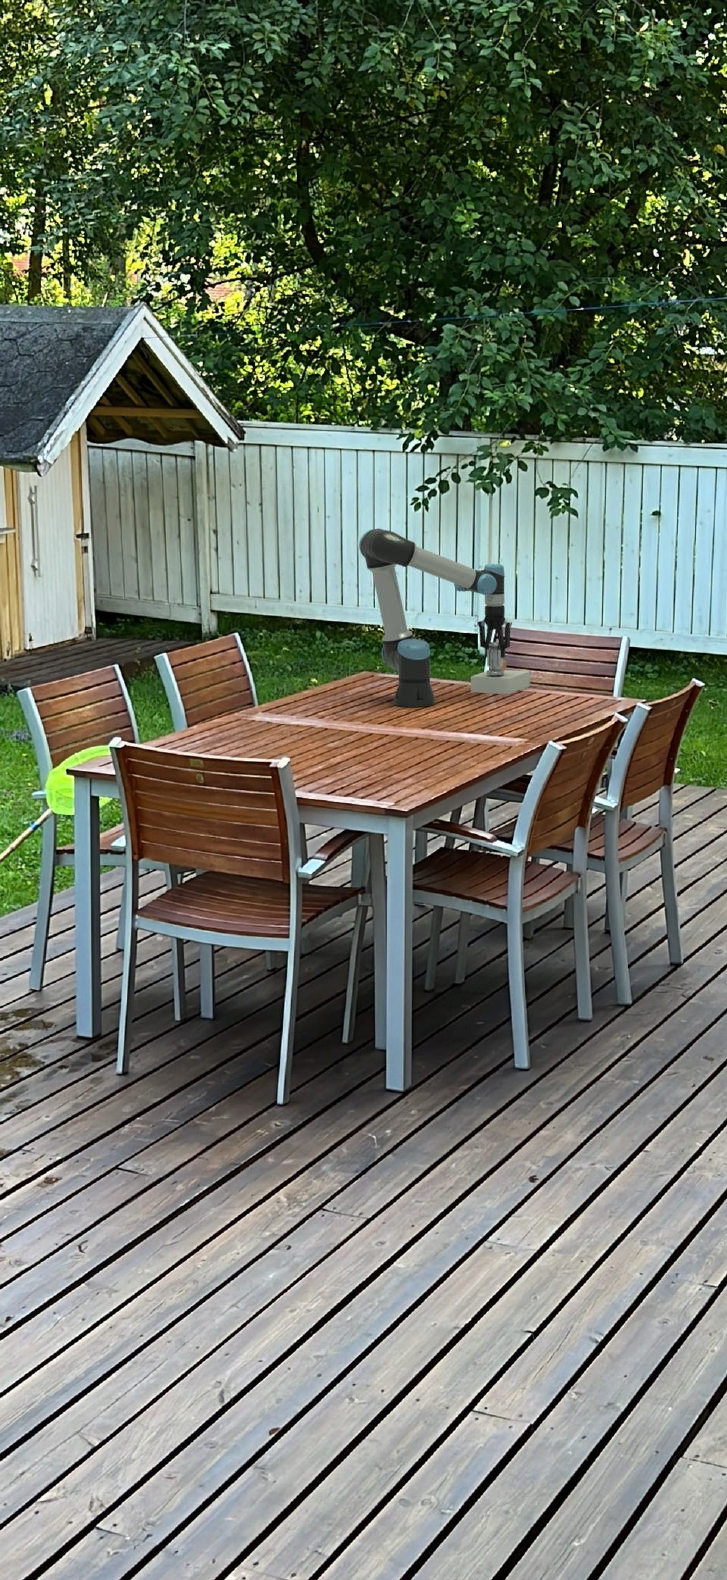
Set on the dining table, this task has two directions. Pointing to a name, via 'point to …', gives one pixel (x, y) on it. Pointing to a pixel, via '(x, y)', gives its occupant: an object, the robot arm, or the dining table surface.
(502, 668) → the lock tab
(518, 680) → the block
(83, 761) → the dining table surface
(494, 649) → the grey flanged post
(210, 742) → the dining table surface
